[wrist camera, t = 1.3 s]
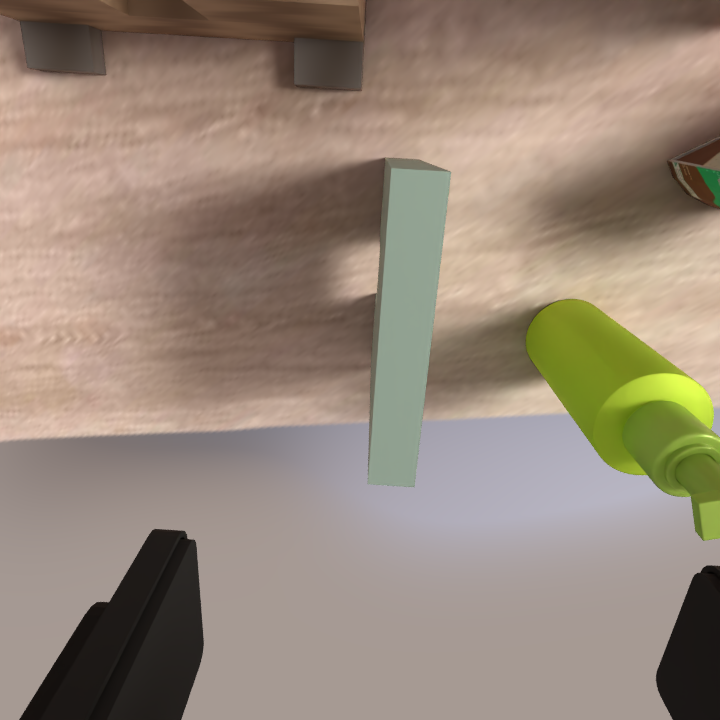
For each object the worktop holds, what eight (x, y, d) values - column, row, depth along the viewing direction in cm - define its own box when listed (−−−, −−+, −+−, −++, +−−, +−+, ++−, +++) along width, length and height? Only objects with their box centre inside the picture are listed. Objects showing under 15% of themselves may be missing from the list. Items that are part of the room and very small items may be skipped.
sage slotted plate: (371, 356, 39) (367, 484, 25) (385, 157, 34) (391, 168, 19) (400, 358, 39) (414, 487, 25) (419, 159, 34) (451, 172, 19)
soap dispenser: (627, 357, 39) (854, 550, 20) (534, 383, 40) (670, 590, 21) (615, 283, 37) (855, 424, 18) (517, 313, 38) (652, 475, 19)
